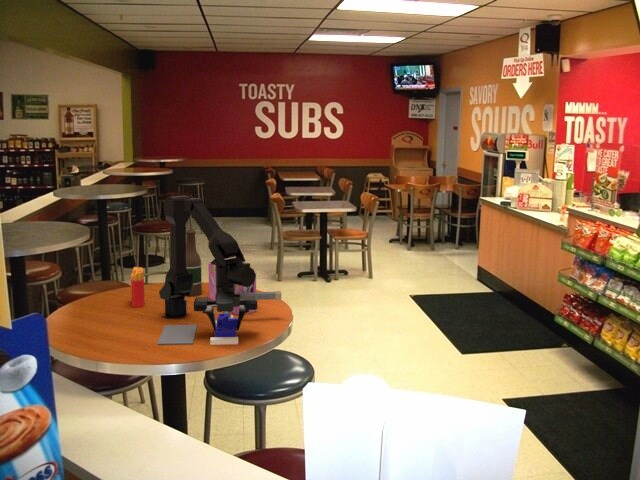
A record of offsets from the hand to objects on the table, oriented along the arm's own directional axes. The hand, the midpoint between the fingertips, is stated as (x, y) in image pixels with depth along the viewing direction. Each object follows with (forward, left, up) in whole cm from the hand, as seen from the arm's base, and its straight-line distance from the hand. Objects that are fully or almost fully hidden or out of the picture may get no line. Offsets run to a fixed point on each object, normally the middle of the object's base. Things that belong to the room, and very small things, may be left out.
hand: (226, 330), depth 183 cm
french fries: (-31, +31, -1) cm, 44 cm away
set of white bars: (0, +3, -1) cm, 4 cm away
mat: (-14, 0, -1) cm, 14 cm away
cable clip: (-3, 0, +1) cm, 3 cm away
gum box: (+1, +30, -2) cm, 30 cm away
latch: (+8, +14, 0) cm, 16 cm away
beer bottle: (-14, +44, -1) cm, 46 cm away
